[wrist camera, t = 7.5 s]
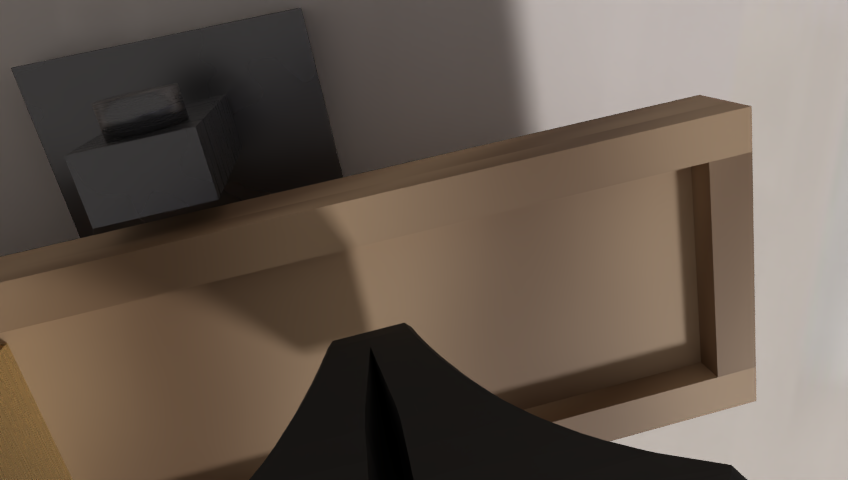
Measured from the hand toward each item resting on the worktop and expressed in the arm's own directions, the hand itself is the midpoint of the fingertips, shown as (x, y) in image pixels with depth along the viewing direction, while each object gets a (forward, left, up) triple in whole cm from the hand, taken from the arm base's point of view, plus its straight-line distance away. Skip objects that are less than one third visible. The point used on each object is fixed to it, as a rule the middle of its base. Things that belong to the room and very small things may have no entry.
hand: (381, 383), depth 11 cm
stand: (+1, -3, -6) cm, 7 cm away
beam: (+1, -3, -4) cm, 5 cm away
